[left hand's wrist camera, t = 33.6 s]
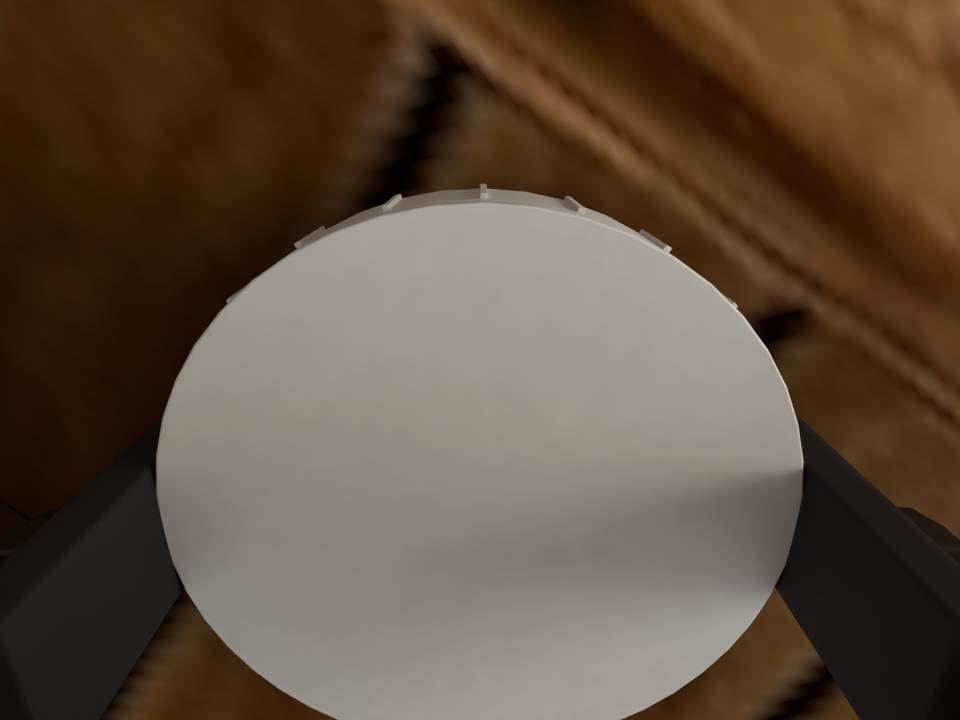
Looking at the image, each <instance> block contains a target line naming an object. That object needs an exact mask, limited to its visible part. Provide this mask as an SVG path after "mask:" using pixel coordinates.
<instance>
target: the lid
mask: <svg viewBox="0 0 960 720" xmlns="http://www.w3.org/2000/svg"><path fill="white" fill-rule="evenodd" d="M294 246H295V247H296V248H297V249H296V250H295V251H293V252H292V253H290V254H289V255H287V256H286V257H284V258H283V259H282V260H280V261H279V262H277V263H276V264H275V265H273V266H272V267H270V268H269V269H267V270H266V271H265V272H263V273H262V274H260V275H259V276H258V277H256V278H255V279H253V280H252V281H251V282H250V283H249V284H248V285H247V286H245V287H244V288H242V289H241V290H239V291H238V292H237V293H235V294H234V295H232V296H231V297H229V298H228V300H227V301H226V302H227V303H228V304H227V305H226V306H225V307H224V308H223V309H222V310H221V311H220V312H219V313H218V315H217V316H216V317H215V319H214V320H213V321H212V323H211V324H210V325H209V326H208V328H207V329H206V330H205V332H204V333H203V334H202V336H201V337H200V338H199V340H198V341H197V342H196V343H195V345H194V347H193V349H192V350H191V352H190V354H189V356H188V358H187V360H186V362H185V363H184V365H183V367H182V369H181V371H180V373H179V375H178V376H177V378H176V380H175V383H174V386H173V389H172V392H171V394H170V397H169V400H168V403H167V406H166V409H165V412H164V415H163V418H162V424H161V430H160V436H159V442H158V448H157V454H156V496H157V501H158V505H159V510H160V514H161V519H162V523H163V527H164V531H165V535H166V539H167V543H168V547H169V551H170V555H171V559H172V562H173V564H174V566H175V569H176V571H177V573H178V575H179V577H180V579H181V581H182V583H183V585H184V587H185V590H186V592H187V593H188V595H189V596H190V598H191V599H192V601H193V602H194V604H195V605H196V607H197V608H198V610H199V611H200V613H201V615H202V616H203V618H204V619H205V621H206V622H207V623H208V624H209V625H210V626H211V628H212V629H213V630H214V631H215V632H216V633H217V635H218V636H219V637H220V638H221V639H222V640H223V642H224V643H225V644H226V645H227V646H228V647H229V648H230V649H231V650H232V651H233V652H234V653H235V654H236V655H237V656H239V657H240V658H241V659H242V660H243V661H244V662H245V663H246V664H247V665H248V666H249V667H251V668H252V669H253V670H254V671H255V672H257V673H258V674H259V675H261V676H262V677H264V678H265V679H266V680H268V681H269V682H270V683H272V684H273V685H275V686H276V687H277V688H279V689H280V690H282V691H283V692H285V693H287V694H288V695H290V696H292V697H294V698H295V699H297V700H299V701H301V702H302V703H304V704H306V705H307V706H309V707H311V708H313V709H315V710H318V711H320V712H322V713H324V714H327V715H329V716H331V717H333V718H335V719H338V720H621V719H623V718H625V717H628V716H630V715H632V714H635V713H637V712H639V711H642V710H644V709H646V708H647V707H649V706H651V705H653V704H655V703H656V702H658V701H660V700H662V699H664V698H665V697H667V696H669V695H671V694H673V693H674V692H676V691H677V690H678V689H680V688H681V687H683V686H684V685H686V684H687V683H688V682H690V681H691V680H693V679H694V678H695V677H697V676H698V675H700V674H701V673H702V672H704V671H705V670H706V669H707V668H708V667H709V666H710V665H711V664H713V663H714V662H715V661H716V660H717V659H718V658H719V657H720V656H722V655H723V654H724V653H725V652H726V651H727V650H728V649H729V648H730V647H731V646H732V645H733V644H734V642H735V641H736V640H737V639H738V638H739V637H740V636H741V635H742V633H743V632H744V631H745V630H746V629H747V628H748V627H749V626H750V624H751V623H752V621H753V620H754V619H755V617H756V616H757V614H758V613H759V611H760V610H761V608H762V607H763V605H764V604H765V602H766V601H767V600H768V598H769V597H770V595H771V593H772V591H773V589H774V587H775V585H776V583H777V581H778V579H779V577H780V575H781V573H782V571H783V569H784V567H785V565H786V562H787V558H788V554H789V551H790V547H791V543H792V539H793V535H794V531H795V527H796V522H797V518H798V514H799V510H800V505H801V501H802V496H803V455H802V448H801V441H800V434H799V427H798V422H797V419H796V416H795V412H794V409H793V406H792V403H791V400H790V396H789V393H788V390H787V387H786V385H785V383H784V381H783V379H782V377H781V375H780V373H779V371H778V369H777V367H776V365H775V363H774V361H773V359H772V357H771V355H770V353H769V351H768V349H767V348H766V347H765V345H764V344H763V342H762V341H761V340H760V338H759V337H758V336H757V334H756V333H755V331H754V330H753V329H752V327H751V326H750V324H749V323H748V322H747V320H746V319H745V318H744V316H743V315H742V314H741V313H740V312H739V311H738V310H737V309H736V308H737V307H738V306H737V305H736V304H735V303H734V302H733V301H731V300H730V299H729V298H727V297H726V296H724V295H723V294H721V293H720V292H719V291H718V290H717V289H716V288H715V287H714V286H713V285H712V284H711V283H709V282H708V281H707V280H705V279H704V278H703V277H701V276H700V275H699V274H697V273H696V272H695V271H693V270H692V269H690V268H689V267H688V266H686V265H685V264H684V263H682V262H681V261H680V260H678V259H677V258H676V257H674V256H673V255H671V254H670V253H669V252H670V250H671V249H672V248H671V247H669V246H668V245H666V244H664V243H663V242H661V241H660V240H658V239H657V238H655V237H653V236H652V235H650V234H649V233H647V232H645V231H644V230H642V229H641V231H640V232H639V233H638V232H636V231H634V230H632V229H630V228H628V227H626V226H625V225H623V224H621V223H619V222H617V221H615V220H613V219H612V218H610V217H608V216H606V215H604V214H601V213H598V212H596V211H593V210H590V209H587V208H585V207H583V206H582V205H580V204H579V203H578V202H576V201H575V200H574V199H572V198H571V197H568V196H565V199H564V200H561V199H556V198H552V197H547V196H542V195H538V194H533V193H529V192H522V191H509V190H497V189H487V186H486V184H480V189H464V190H447V191H437V192H432V193H427V194H422V195H417V196H412V197H407V198H402V197H401V194H398V195H395V196H394V197H392V198H391V199H390V200H389V201H388V202H386V203H385V204H383V205H380V206H377V207H374V208H371V209H369V210H366V211H363V212H360V213H358V214H356V215H354V216H352V217H350V218H348V219H346V220H344V221H342V222H340V223H338V224H336V225H334V226H332V227H330V228H328V229H325V227H324V226H322V227H320V228H319V229H317V230H315V231H314V232H312V233H311V234H309V235H308V236H306V237H304V238H303V239H301V240H300V241H298V242H296V243H295V244H294Z"/></svg>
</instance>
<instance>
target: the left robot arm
mask: <svg viewBox="0 0 960 720" xmlns="http://www.w3.org/2000/svg"><path fill="white" fill-rule="evenodd" d="M795 416H796V419H797V422H798V427H799V434H800V441H801V448H802V455H803V496H802V501H801V505H800V510H799V514H798V518H797V522H796V527H795V531H794V535H793V539H792V543H791V547H790V551H789V554H788V558H787V562H786V565H785V567H784V569H783V571H782V573H781V575H780V577H779V579H778V581H777V583H776V585H775V587H776V589H777V591H778V592H779V594H780V595H781V597H782V598H783V600H784V602H785V603H786V605H787V606H788V608H789V609H790V611H791V612H792V614H793V616H794V617H795V619H796V620H797V622H798V623H799V625H800V627H801V628H802V630H803V631H804V633H805V634H806V636H807V637H808V639H809V641H810V642H811V644H812V645H813V647H814V648H815V650H816V651H817V653H818V655H819V656H820V658H821V659H822V661H823V662H824V664H825V666H826V667H827V669H828V670H829V672H830V673H831V675H832V676H833V678H834V680H835V681H836V683H837V684H838V686H839V687H840V689H841V691H842V692H843V694H844V695H845V697H846V698H847V700H848V701H849V703H850V705H851V706H852V708H853V709H854V711H855V712H856V714H857V716H858V717H859V719H860V720H960V540H959V539H958V538H957V537H956V536H954V535H953V534H952V533H951V532H950V531H949V530H947V529H946V528H945V527H944V526H942V525H940V524H939V523H937V522H935V521H933V520H931V519H930V518H928V517H926V516H924V515H922V514H921V513H919V512H917V511H915V510H914V509H912V508H897V507H896V506H895V505H894V504H893V503H892V502H891V501H890V500H889V499H888V498H886V497H885V496H884V495H883V494H882V493H881V492H880V491H879V490H878V489H877V488H875V487H874V486H873V485H872V484H871V483H870V482H869V481H868V480H867V479H866V478H865V477H863V476H862V475H861V474H860V473H859V472H858V471H857V470H856V469H855V468H854V467H852V466H851V465H850V464H849V463H848V462H847V461H846V460H845V459H844V458H843V457H842V456H840V455H839V454H838V453H837V452H836V451H835V450H834V449H833V448H832V447H831V446H829V445H828V444H827V443H826V442H825V441H824V440H823V439H822V438H821V437H820V436H819V435H817V434H816V433H815V432H814V431H813V430H812V429H811V428H810V427H809V426H808V425H807V424H805V423H804V422H803V421H802V420H801V419H800V418H799V417H798V416H797V415H796V414H795ZM162 418H163V416H162V417H160V418H159V419H158V420H157V421H156V422H155V423H154V424H153V425H152V426H151V427H149V428H148V429H147V430H146V431H145V432H144V433H143V434H142V435H141V436H140V437H139V438H137V439H136V440H135V441H134V442H133V443H132V444H131V445H130V446H129V447H128V448H126V449H125V450H124V451H123V452H122V453H121V454H120V455H119V456H118V457H117V458H116V459H114V460H113V461H112V462H111V463H110V464H109V465H108V466H107V467H106V468H105V469H104V470H102V471H101V472H100V473H99V474H98V475H97V476H96V477H95V478H94V479H93V480H91V481H90V482H89V483H88V484H87V485H86V486H85V487H84V488H83V489H82V490H81V491H79V492H78V493H77V494H76V495H75V496H74V497H73V498H72V499H71V500H70V501H68V502H67V503H66V504H65V505H64V506H63V507H62V508H61V509H60V510H48V511H46V512H45V513H43V514H41V515H39V516H38V517H36V518H34V519H32V520H30V521H29V522H27V523H25V524H23V525H22V526H20V527H18V528H16V529H15V530H14V531H13V532H12V533H10V534H9V535H8V536H7V537H6V538H5V539H3V540H2V541H1V542H0V720H99V719H100V718H101V716H102V714H103V713H104V711H105V710H106V708H107V707H108V705H109V704H110V702H111V700H112V699H113V697H114V696H115V694H116V693H117V691H118V689H119V688H120V686H121V685H122V683H123V682H124V680H125V679H126V677H127V675H128V674H129V672H130V671H131V669H132V668H133V666H134V664H135V663H136V661H137V660H138V658H139V657H140V655H141V654H142V652H143V650H144V649H145V647H146V646H147V644H148V643H149V641H150V640H151V638H152V636H153V635H154V633H155V632H156V630H157V629H158V627H159V625H160V624H161V622H162V621H163V619H164V618H165V616H166V615H167V613H168V611H169V610H170V608H171V607H172V605H173V604H174V602H175V600H176V599H177V597H178V596H179V594H180V593H181V591H182V590H183V588H184V585H183V583H182V581H181V579H180V577H179V575H178V573H177V571H176V569H175V566H174V564H173V562H172V559H171V555H170V551H169V547H168V543H167V539H166V535H165V531H164V527H163V523H162V519H161V514H160V510H159V505H158V501H157V496H156V454H157V448H158V442H159V436H160V430H161V424H162Z"/></svg>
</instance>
